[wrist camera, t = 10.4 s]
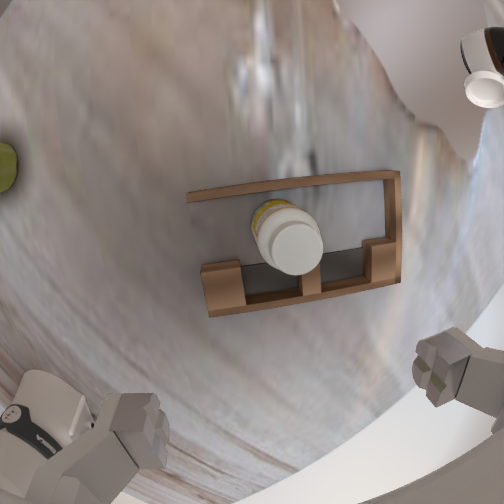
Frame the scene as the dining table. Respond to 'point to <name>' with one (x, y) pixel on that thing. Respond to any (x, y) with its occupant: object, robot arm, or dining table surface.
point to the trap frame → (328, 269)
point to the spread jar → (484, 66)
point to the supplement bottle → (287, 237)
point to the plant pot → (7, 166)
